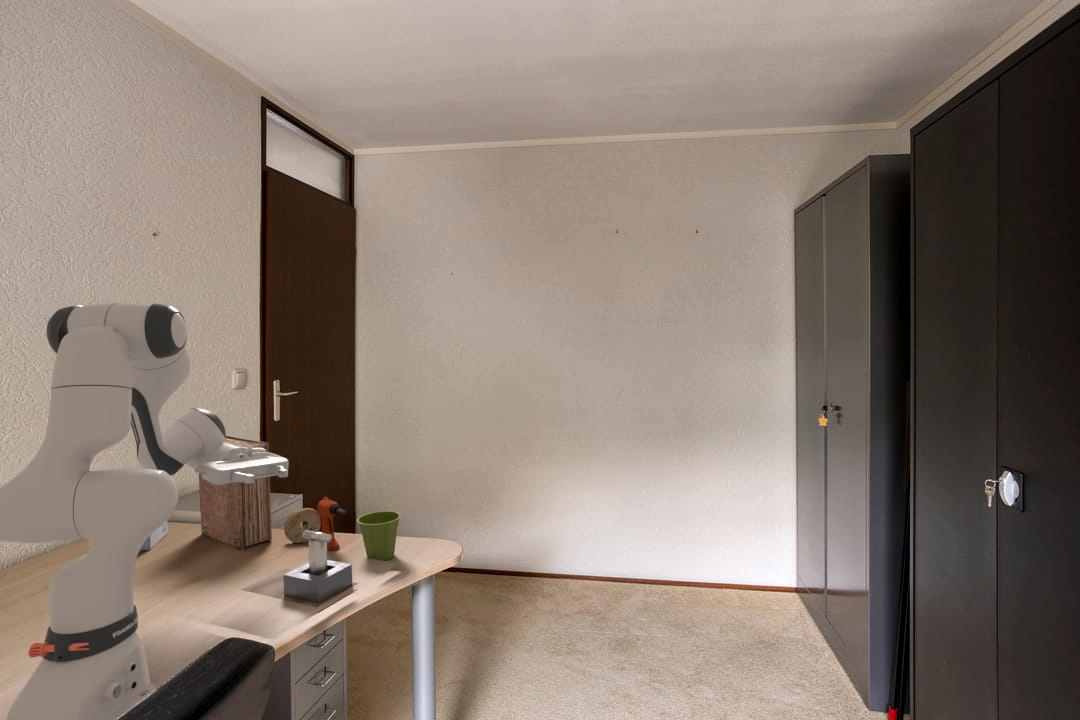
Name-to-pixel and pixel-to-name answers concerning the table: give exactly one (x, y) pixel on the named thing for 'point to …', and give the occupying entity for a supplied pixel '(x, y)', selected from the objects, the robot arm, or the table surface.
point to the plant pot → (379, 533)
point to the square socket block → (317, 582)
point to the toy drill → (329, 519)
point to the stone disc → (293, 524)
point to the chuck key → (317, 551)
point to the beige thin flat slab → (276, 588)
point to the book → (237, 507)
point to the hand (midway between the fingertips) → (269, 477)
